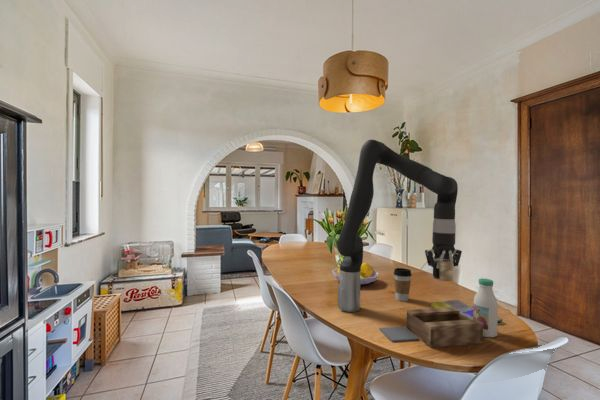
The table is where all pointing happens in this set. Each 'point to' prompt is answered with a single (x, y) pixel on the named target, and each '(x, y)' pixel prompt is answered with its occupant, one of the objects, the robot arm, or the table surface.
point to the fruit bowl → (366, 274)
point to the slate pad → (398, 334)
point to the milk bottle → (486, 308)
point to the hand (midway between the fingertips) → (442, 277)
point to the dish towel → (459, 308)
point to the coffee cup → (402, 283)
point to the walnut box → (444, 327)
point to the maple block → (445, 270)
